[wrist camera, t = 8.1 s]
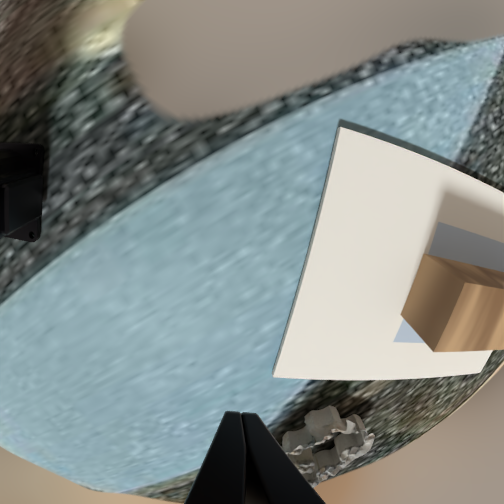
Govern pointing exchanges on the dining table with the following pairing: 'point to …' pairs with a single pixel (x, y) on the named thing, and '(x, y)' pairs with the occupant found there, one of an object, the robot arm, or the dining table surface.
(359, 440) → the egg carton
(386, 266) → the mat
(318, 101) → the dining table surface
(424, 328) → the oak block
